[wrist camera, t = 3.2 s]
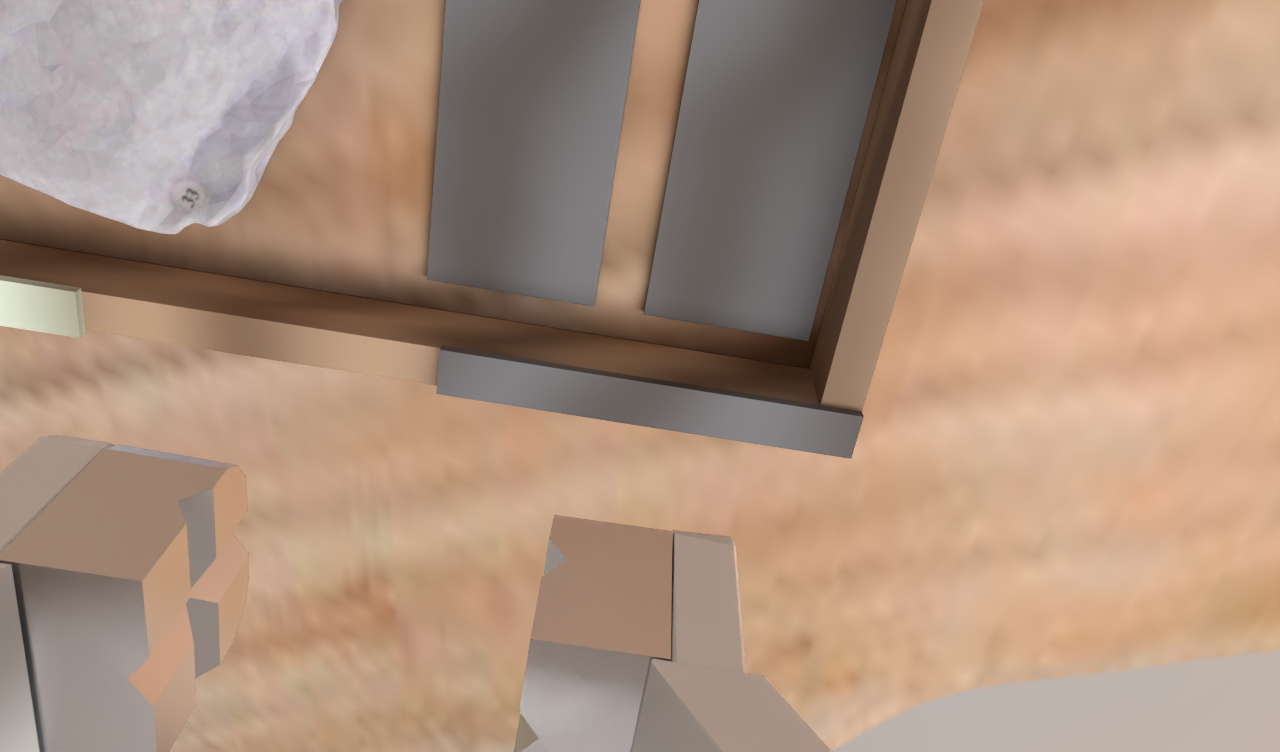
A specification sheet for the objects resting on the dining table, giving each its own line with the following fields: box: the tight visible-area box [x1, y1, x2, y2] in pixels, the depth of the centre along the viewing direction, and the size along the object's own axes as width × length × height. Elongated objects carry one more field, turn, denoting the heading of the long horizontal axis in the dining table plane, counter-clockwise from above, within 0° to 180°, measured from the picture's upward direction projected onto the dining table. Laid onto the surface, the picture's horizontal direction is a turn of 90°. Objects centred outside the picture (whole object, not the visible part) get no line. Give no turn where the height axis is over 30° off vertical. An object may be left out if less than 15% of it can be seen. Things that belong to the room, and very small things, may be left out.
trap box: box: [0, 0, 984, 459], centre depth 25 cm, size 34×18×4 cm, turn 81°
